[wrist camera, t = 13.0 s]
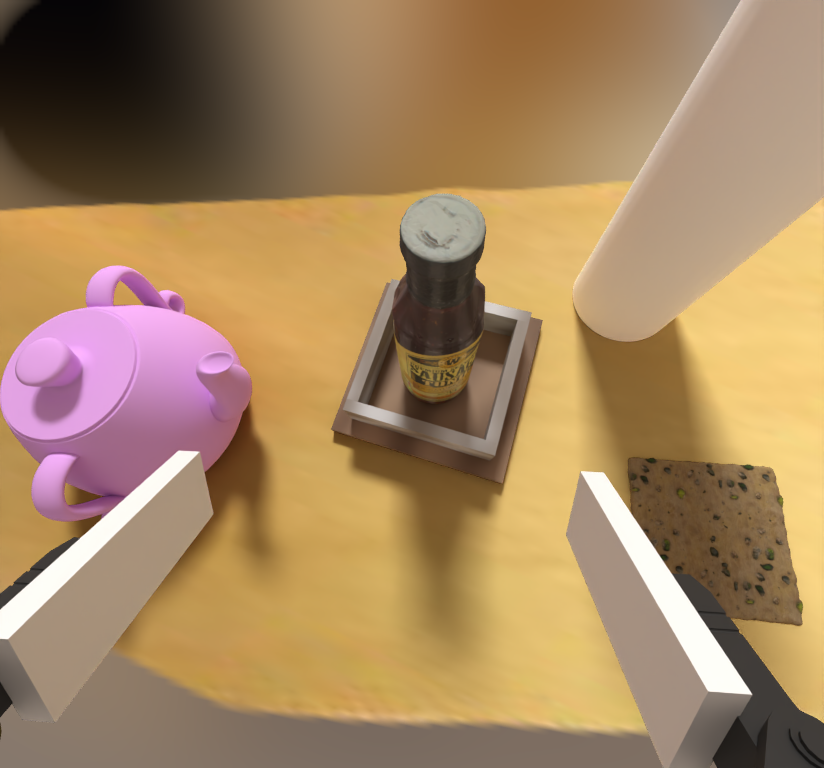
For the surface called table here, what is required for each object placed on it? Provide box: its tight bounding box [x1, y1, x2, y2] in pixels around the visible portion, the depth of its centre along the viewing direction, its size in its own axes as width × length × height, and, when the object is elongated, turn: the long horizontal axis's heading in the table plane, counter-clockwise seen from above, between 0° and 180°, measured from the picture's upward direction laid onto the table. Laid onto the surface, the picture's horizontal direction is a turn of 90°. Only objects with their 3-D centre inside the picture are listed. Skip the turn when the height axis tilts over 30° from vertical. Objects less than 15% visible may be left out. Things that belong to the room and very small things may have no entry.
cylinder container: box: [573, 0, 824, 342], centre depth 24 cm, size 9×9×30 cm
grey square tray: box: [331, 279, 543, 484], centre depth 35 cm, size 16×16×4 cm
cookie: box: [628, 458, 803, 625], centre depth 32 cm, size 12×12×1 cm
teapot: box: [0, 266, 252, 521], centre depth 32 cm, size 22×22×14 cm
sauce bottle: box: [392, 194, 486, 404], centre depth 27 cm, size 7×6×20 cm
